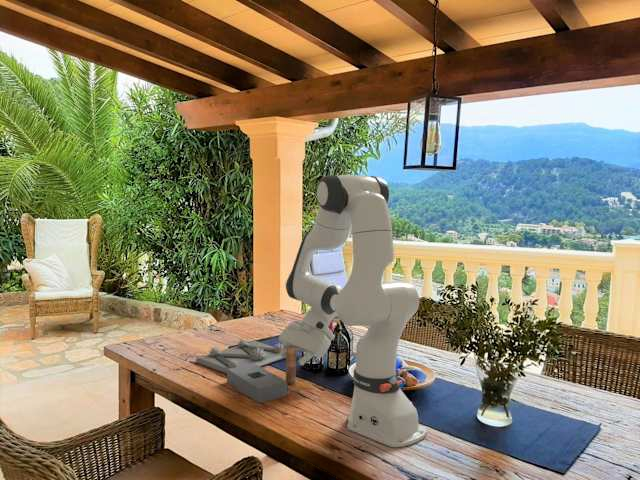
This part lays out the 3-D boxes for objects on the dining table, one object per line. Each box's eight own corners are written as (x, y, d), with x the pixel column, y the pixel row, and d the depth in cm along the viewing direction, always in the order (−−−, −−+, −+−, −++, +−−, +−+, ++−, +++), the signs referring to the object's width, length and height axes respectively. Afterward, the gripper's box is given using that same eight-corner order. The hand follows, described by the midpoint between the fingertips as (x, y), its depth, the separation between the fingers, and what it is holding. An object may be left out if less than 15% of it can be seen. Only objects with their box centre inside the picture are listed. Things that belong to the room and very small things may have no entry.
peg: (297, 383, 168) (298, 347, 167) (289, 385, 166) (290, 349, 165) (291, 380, 170) (292, 345, 169) (283, 382, 168) (284, 346, 167)
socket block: (286, 395, 158) (287, 381, 157) (259, 403, 151) (259, 388, 151) (253, 375, 173) (253, 363, 173) (227, 382, 167) (227, 369, 166)
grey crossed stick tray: (254, 345, 208) (254, 328, 207) (293, 358, 194) (293, 339, 193) (193, 364, 185) (193, 345, 184) (233, 379, 171) (233, 358, 170)
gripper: (288, 314, 179) (266, 346, 173) (329, 327, 164) (306, 363, 158) (298, 324, 182) (276, 356, 177) (338, 338, 168) (316, 373, 162)
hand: (290, 360), depth 167 cm, fingers open, 8 cm apart
